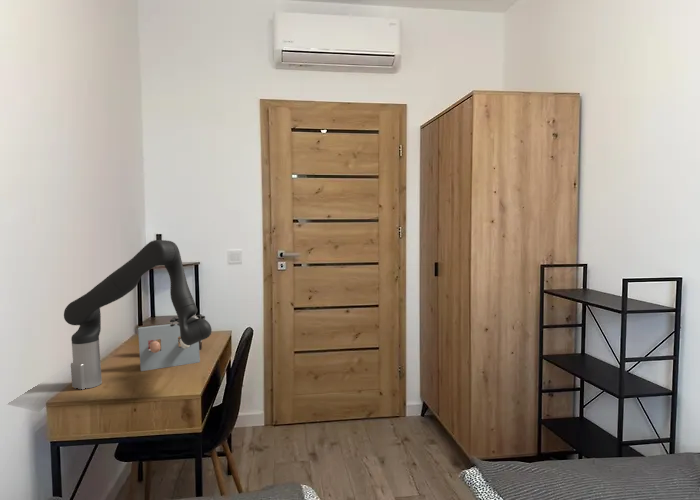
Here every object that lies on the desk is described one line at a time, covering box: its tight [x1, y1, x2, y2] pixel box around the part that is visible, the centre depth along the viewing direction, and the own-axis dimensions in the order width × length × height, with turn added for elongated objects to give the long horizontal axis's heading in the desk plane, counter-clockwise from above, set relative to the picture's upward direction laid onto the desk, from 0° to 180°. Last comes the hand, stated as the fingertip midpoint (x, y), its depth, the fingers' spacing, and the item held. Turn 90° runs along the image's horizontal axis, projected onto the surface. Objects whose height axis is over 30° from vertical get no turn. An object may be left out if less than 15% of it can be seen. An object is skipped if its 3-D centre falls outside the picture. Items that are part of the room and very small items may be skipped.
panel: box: [137, 323, 201, 372], centre depth 208 cm, size 9×24×18 cm, turn 115°
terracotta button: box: [150, 340, 161, 353], centre depth 200 cm, size 6×4×4 cm, turn 25°
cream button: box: [178, 337, 190, 349], centre depth 205 cm, size 6×4×4 cm, turn 25°
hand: (185, 317), depth 198 cm, fingers open, 4 cm apart
